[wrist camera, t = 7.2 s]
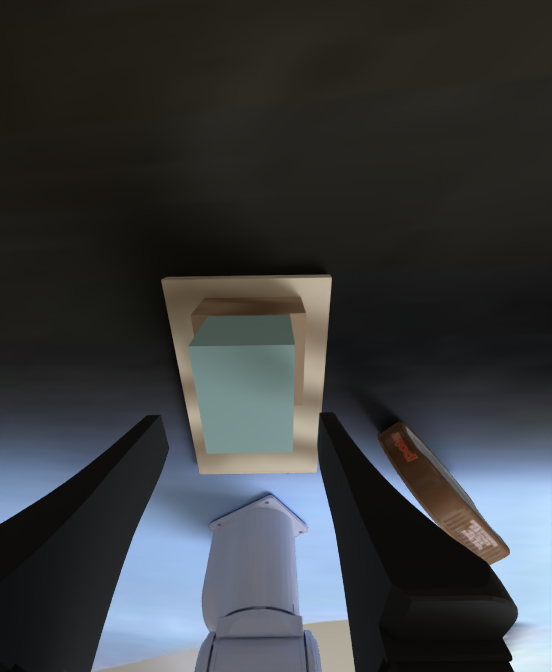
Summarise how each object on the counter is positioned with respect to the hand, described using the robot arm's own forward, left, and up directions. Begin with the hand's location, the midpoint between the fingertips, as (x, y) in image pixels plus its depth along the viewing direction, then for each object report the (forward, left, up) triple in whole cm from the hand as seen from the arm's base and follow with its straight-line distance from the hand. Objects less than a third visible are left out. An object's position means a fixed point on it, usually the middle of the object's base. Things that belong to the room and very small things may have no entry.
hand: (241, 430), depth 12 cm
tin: (+6, -20, -11) cm, 24 cm away
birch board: (-3, -4, -10) cm, 12 cm away
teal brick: (0, 0, -6) cm, 6 cm away
